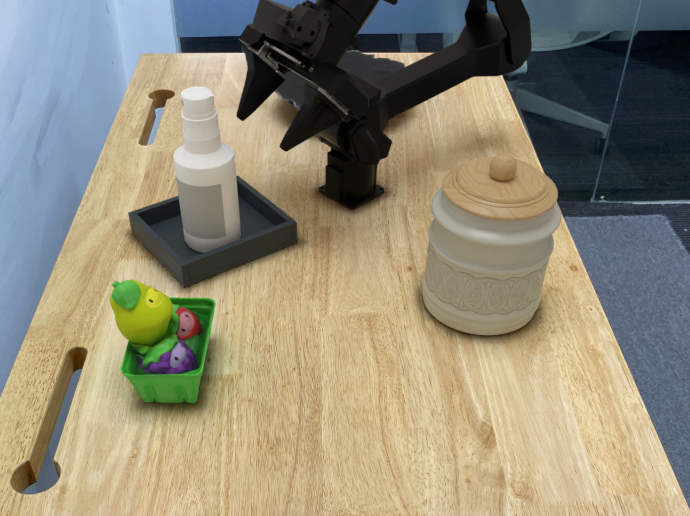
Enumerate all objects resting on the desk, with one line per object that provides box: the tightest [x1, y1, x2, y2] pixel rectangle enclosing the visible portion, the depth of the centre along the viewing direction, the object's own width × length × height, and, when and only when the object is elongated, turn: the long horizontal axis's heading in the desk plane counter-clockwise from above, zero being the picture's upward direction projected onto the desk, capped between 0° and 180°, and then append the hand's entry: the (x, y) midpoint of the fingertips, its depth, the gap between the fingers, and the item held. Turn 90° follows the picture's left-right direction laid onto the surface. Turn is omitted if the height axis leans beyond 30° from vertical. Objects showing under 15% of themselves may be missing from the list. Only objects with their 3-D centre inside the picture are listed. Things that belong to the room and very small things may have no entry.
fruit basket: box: [109, 279, 217, 404], centre depth 74 cm, size 11×9×11 cm
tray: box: [127, 175, 298, 288], centre depth 94 cm, size 16×14×3 cm
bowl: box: [273, 49, 406, 113], centre depth 118 cm, size 22×22×5 cm
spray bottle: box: [172, 85, 241, 253], centre depth 87 cm, size 7×7×18 cm
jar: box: [421, 152, 562, 336], centre depth 80 cm, size 13×13×18 cm
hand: (260, 133), depth 88 cm, fingers open, 9 cm apart
